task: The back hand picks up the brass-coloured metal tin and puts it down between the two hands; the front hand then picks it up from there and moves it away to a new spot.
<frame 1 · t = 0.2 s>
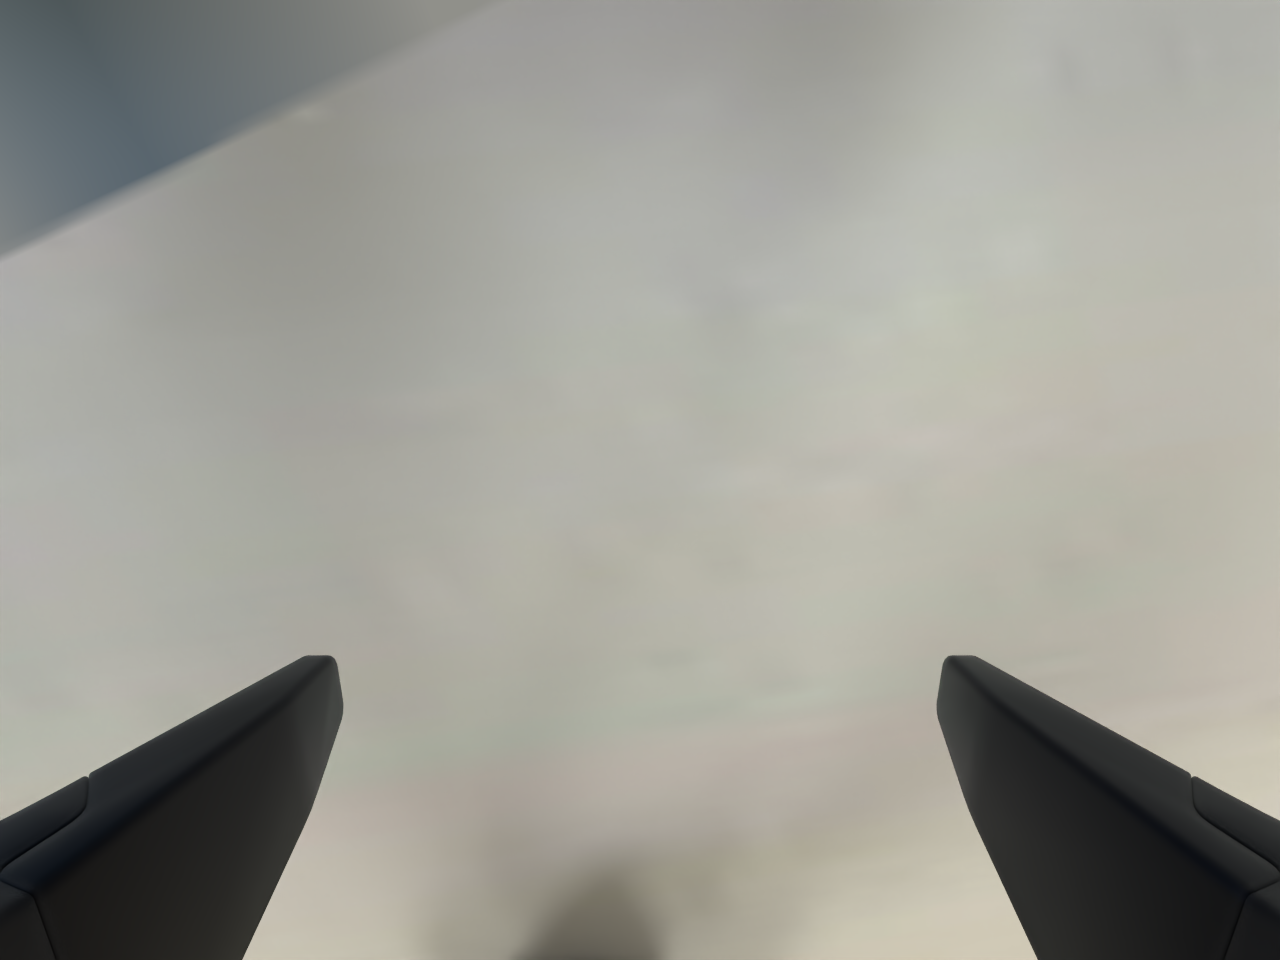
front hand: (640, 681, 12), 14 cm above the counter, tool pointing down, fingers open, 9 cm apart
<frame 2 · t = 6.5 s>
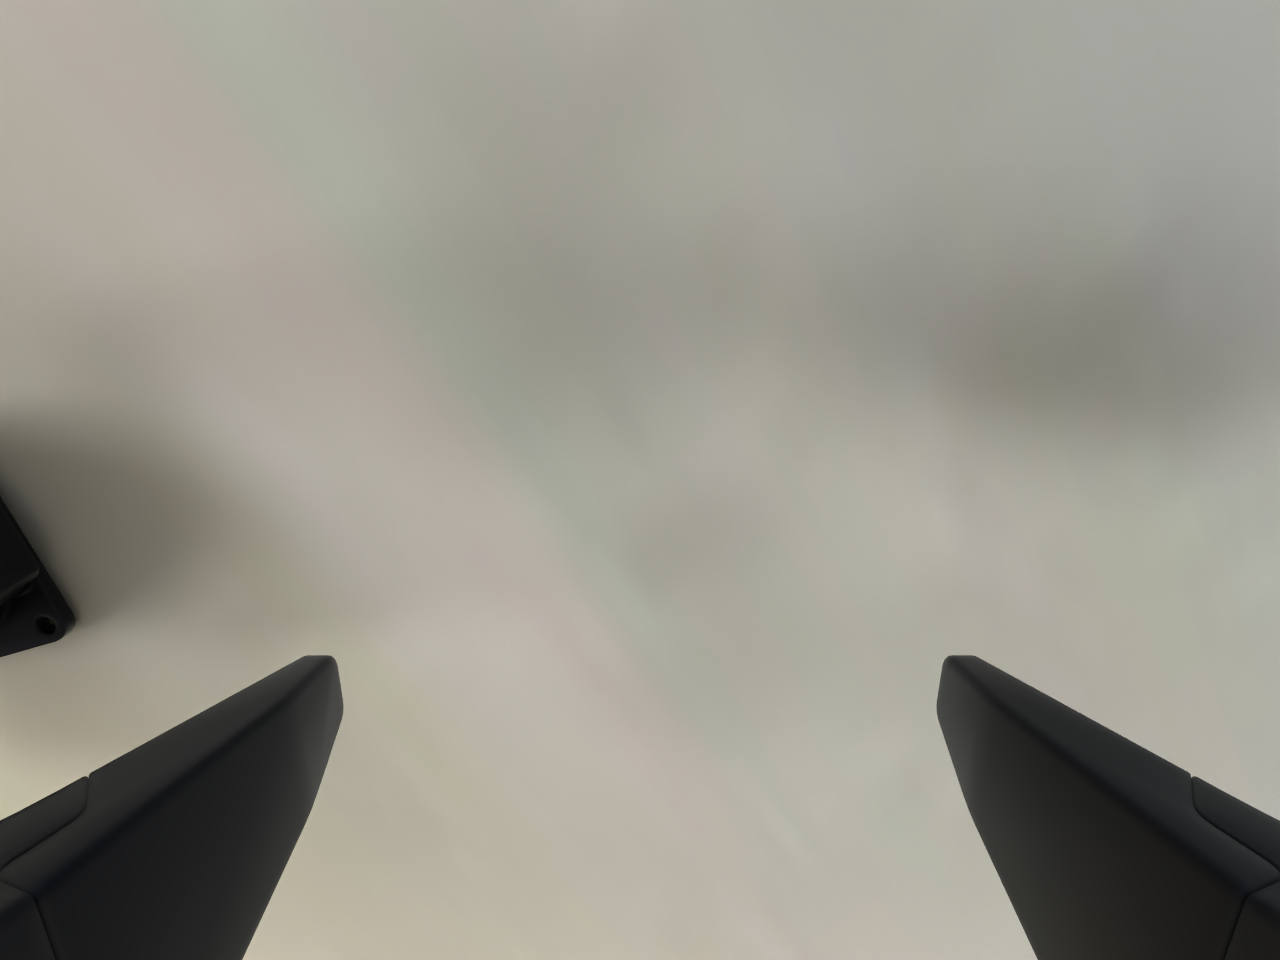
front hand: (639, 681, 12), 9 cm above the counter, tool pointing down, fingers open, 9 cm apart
when the back hand's fingers open (2 cm above the counter, at t = 13.9 s): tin drops 1 cm, on the counter.
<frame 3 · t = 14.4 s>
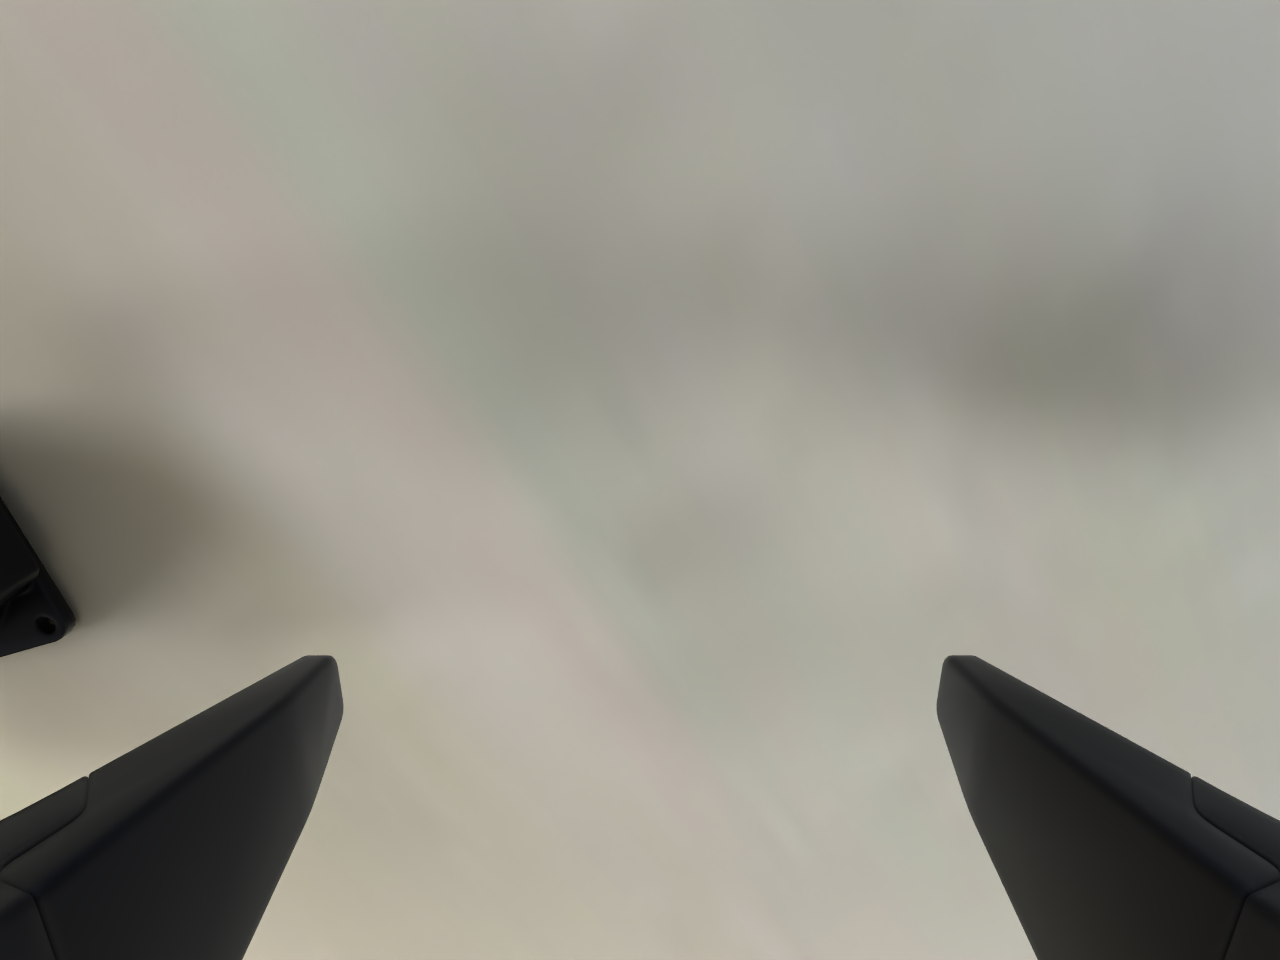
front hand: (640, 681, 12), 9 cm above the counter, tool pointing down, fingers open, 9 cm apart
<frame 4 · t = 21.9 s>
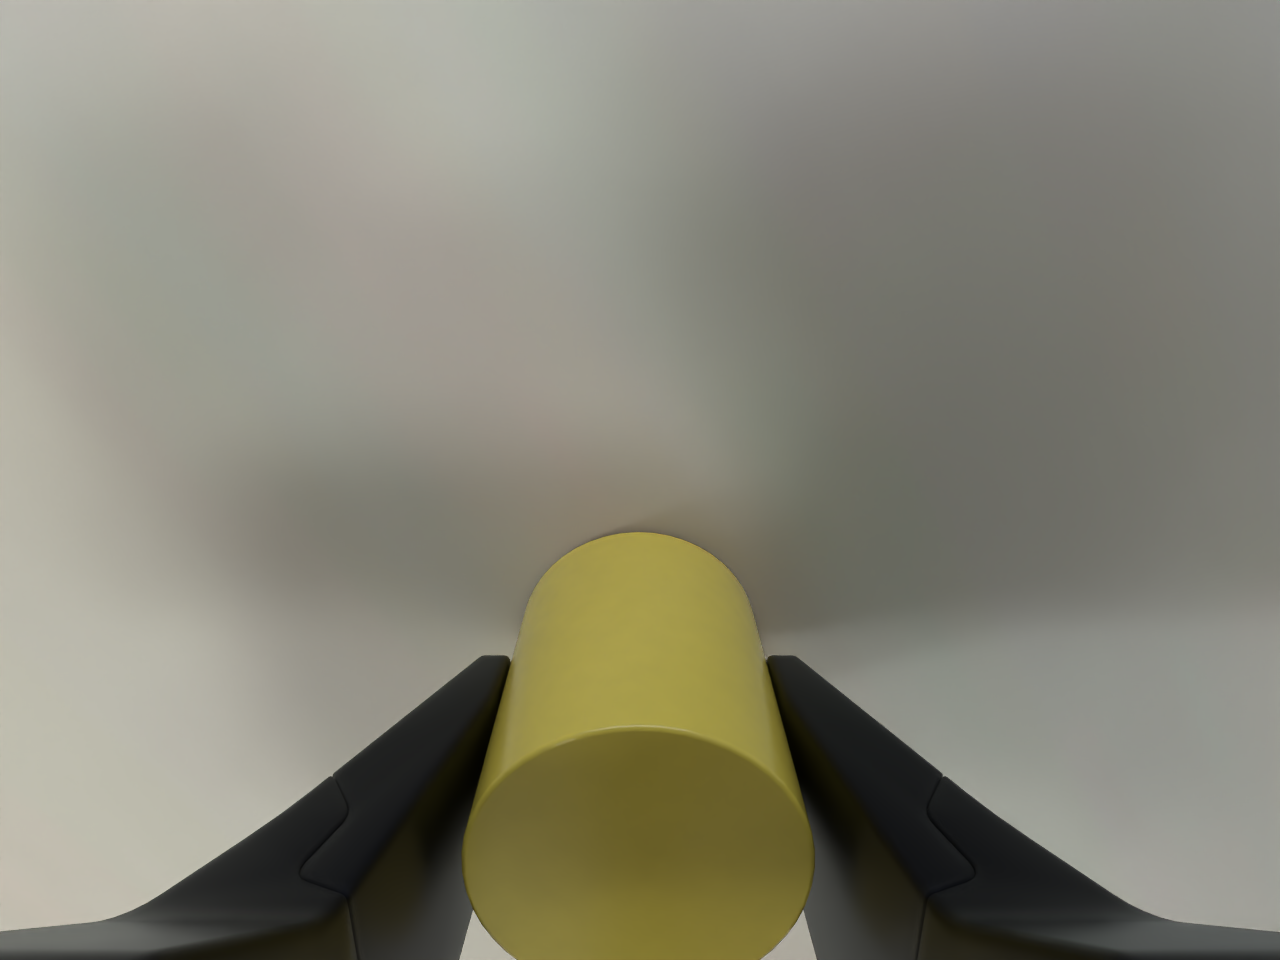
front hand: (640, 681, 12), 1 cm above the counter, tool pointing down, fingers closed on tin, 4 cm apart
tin: (638, 636, 13), on the counter, touching front hand
when the front hand's fingers open (2 cm above the counter, at t = 25.7 s): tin drops 1 cm, on the counter.
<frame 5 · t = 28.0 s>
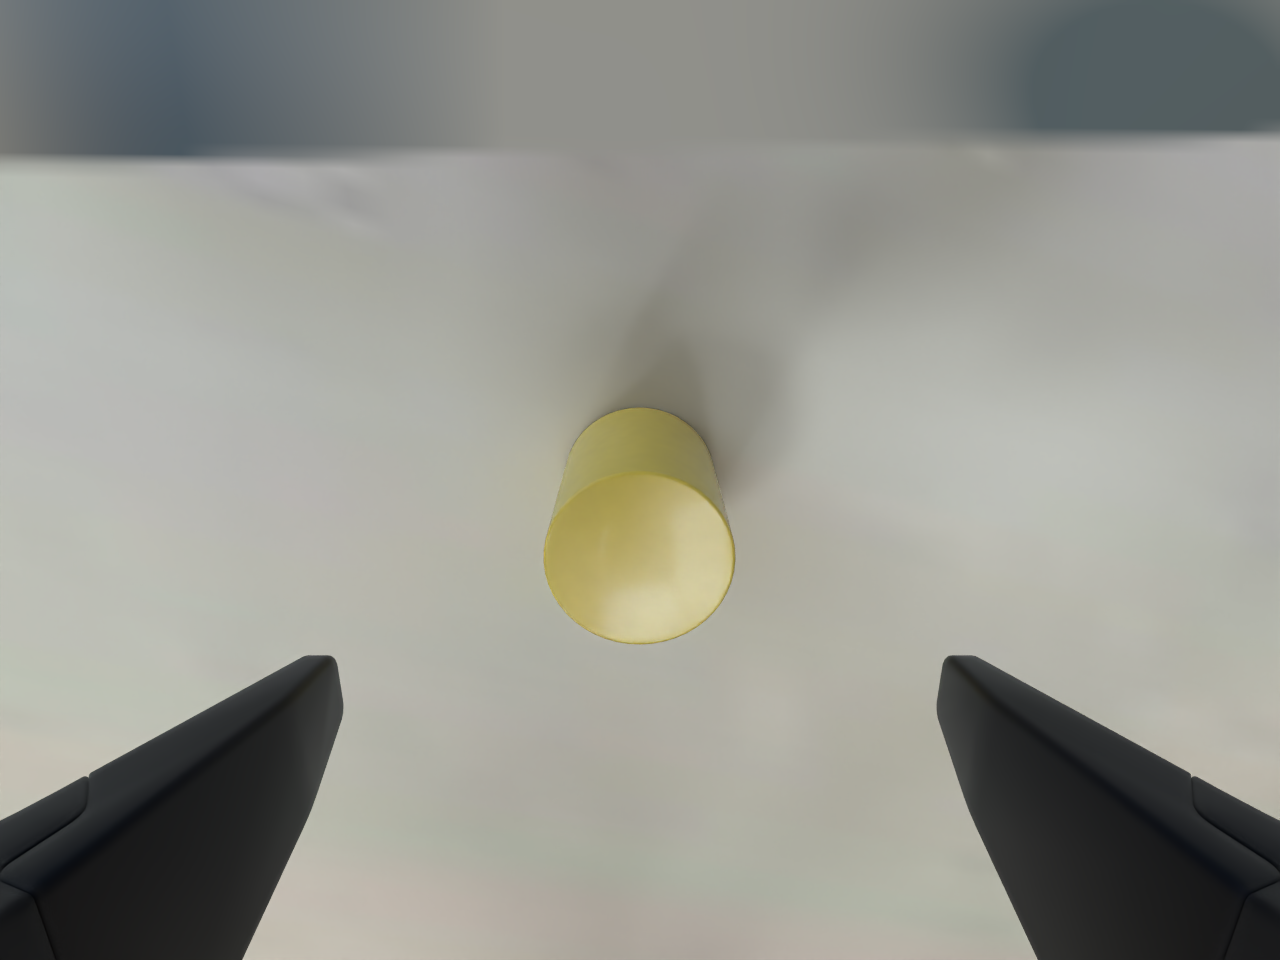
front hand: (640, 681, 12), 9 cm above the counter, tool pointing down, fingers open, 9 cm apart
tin: (639, 479, 20), on the counter
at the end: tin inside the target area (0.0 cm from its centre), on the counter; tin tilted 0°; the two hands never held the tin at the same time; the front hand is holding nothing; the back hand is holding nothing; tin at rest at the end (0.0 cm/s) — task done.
